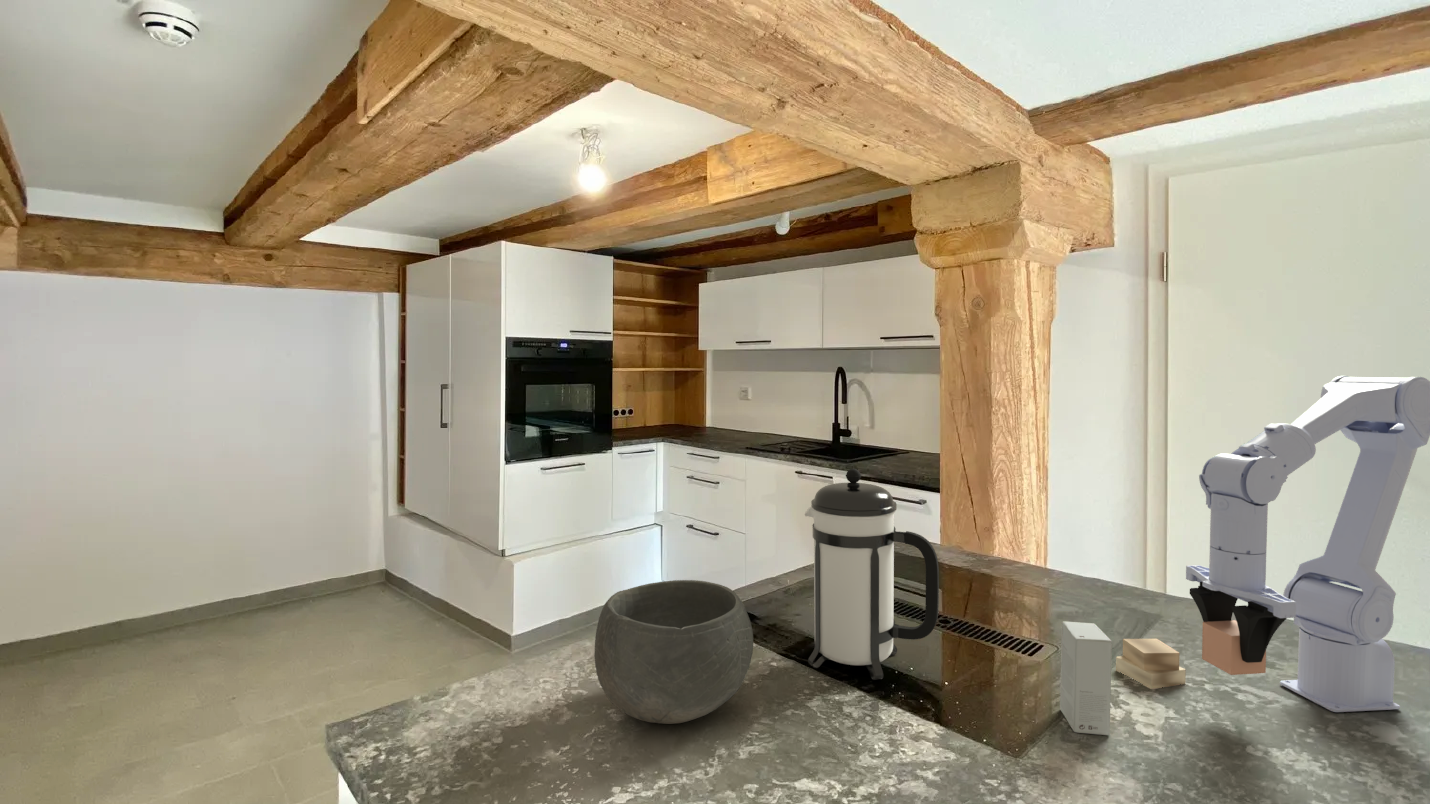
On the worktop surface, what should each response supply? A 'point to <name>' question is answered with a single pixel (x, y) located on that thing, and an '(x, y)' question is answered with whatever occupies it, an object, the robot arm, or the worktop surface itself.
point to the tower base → (1150, 674)
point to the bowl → (672, 649)
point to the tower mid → (1151, 654)
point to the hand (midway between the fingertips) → (1234, 652)
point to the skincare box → (1085, 677)
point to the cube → (1227, 649)
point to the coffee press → (861, 575)
